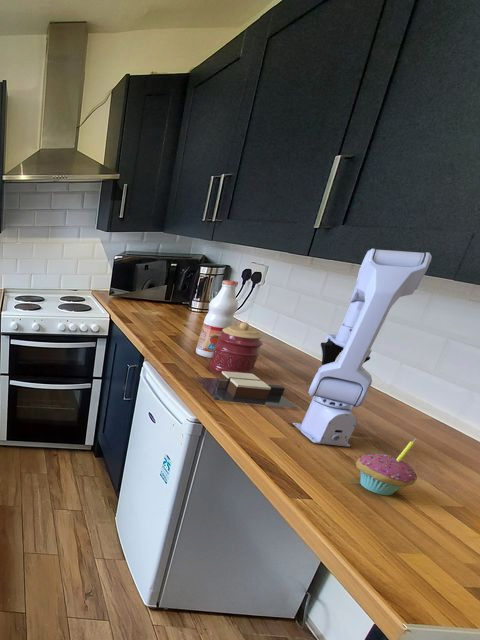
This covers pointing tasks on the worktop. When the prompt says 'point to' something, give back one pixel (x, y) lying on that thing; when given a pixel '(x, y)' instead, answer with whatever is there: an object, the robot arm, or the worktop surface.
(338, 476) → the worktop surface
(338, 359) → the robot arm
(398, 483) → the cupcake
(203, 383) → the cake board
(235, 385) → the cake front half
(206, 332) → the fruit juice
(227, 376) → the cake back half
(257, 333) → the kitchen canister
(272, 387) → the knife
